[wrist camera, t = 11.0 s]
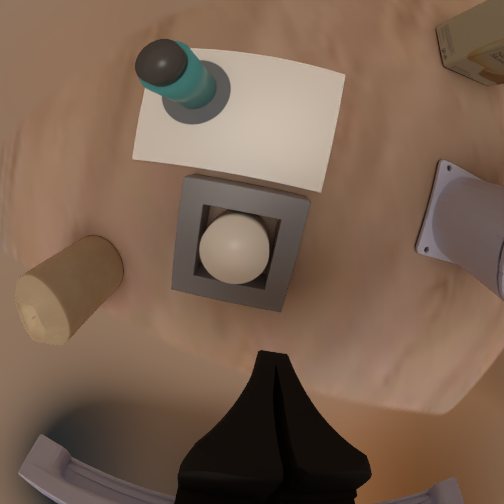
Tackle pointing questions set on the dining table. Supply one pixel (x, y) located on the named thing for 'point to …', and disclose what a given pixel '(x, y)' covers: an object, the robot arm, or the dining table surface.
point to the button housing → (246, 200)
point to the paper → (249, 120)
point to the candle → (67, 289)
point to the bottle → (175, 73)
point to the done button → (235, 247)
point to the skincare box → (475, 43)
